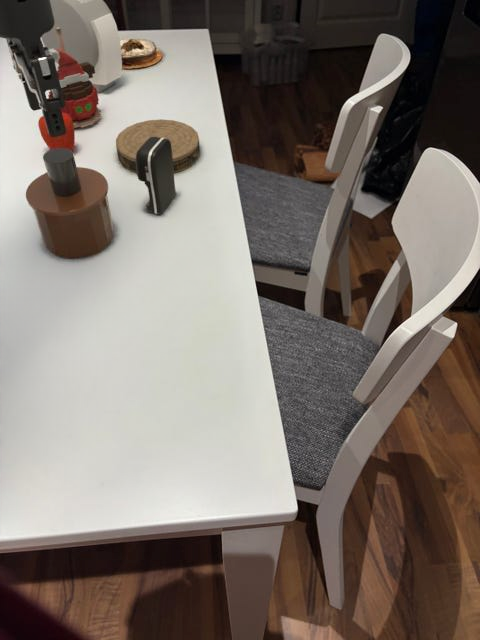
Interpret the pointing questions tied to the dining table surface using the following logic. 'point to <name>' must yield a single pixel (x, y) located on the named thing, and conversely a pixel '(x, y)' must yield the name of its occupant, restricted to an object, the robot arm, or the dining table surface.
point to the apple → (60, 141)
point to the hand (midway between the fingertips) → (48, 121)
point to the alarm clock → (88, 38)
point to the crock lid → (65, 186)
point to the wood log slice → (176, 132)
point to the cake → (76, 87)
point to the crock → (77, 231)
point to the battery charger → (156, 172)
